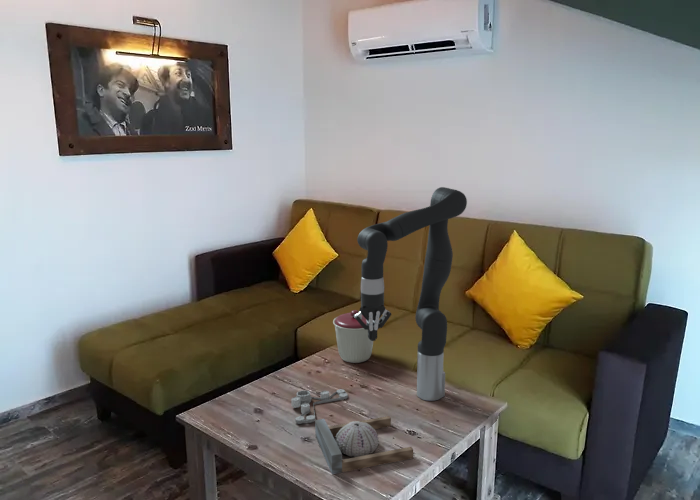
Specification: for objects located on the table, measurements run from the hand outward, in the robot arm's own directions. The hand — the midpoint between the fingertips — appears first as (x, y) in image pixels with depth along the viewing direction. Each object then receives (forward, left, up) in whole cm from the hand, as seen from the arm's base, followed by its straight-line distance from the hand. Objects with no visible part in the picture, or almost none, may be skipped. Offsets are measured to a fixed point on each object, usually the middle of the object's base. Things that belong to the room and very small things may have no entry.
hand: (372, 340), depth 188 cm
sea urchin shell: (+11, +18, -27) cm, 34 cm away
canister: (-8, -45, -27) cm, 53 cm away
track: (+9, +18, -27) cm, 34 cm away
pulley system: (+18, -12, -28) cm, 35 cm away
